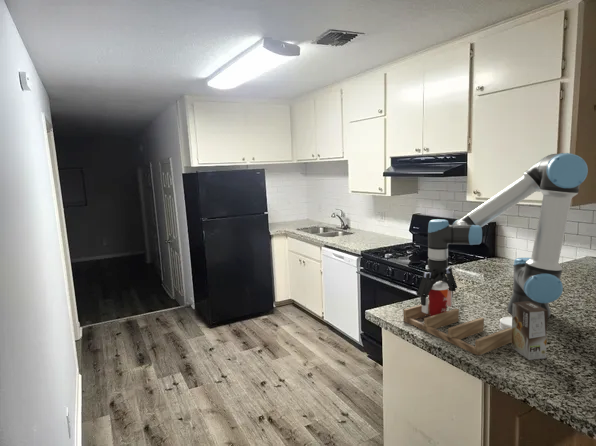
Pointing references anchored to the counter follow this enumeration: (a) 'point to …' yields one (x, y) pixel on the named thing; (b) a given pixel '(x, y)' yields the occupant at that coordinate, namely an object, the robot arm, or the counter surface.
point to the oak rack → (458, 329)
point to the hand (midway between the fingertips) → (437, 309)
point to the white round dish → (505, 323)
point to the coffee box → (529, 330)
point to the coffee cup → (438, 298)
